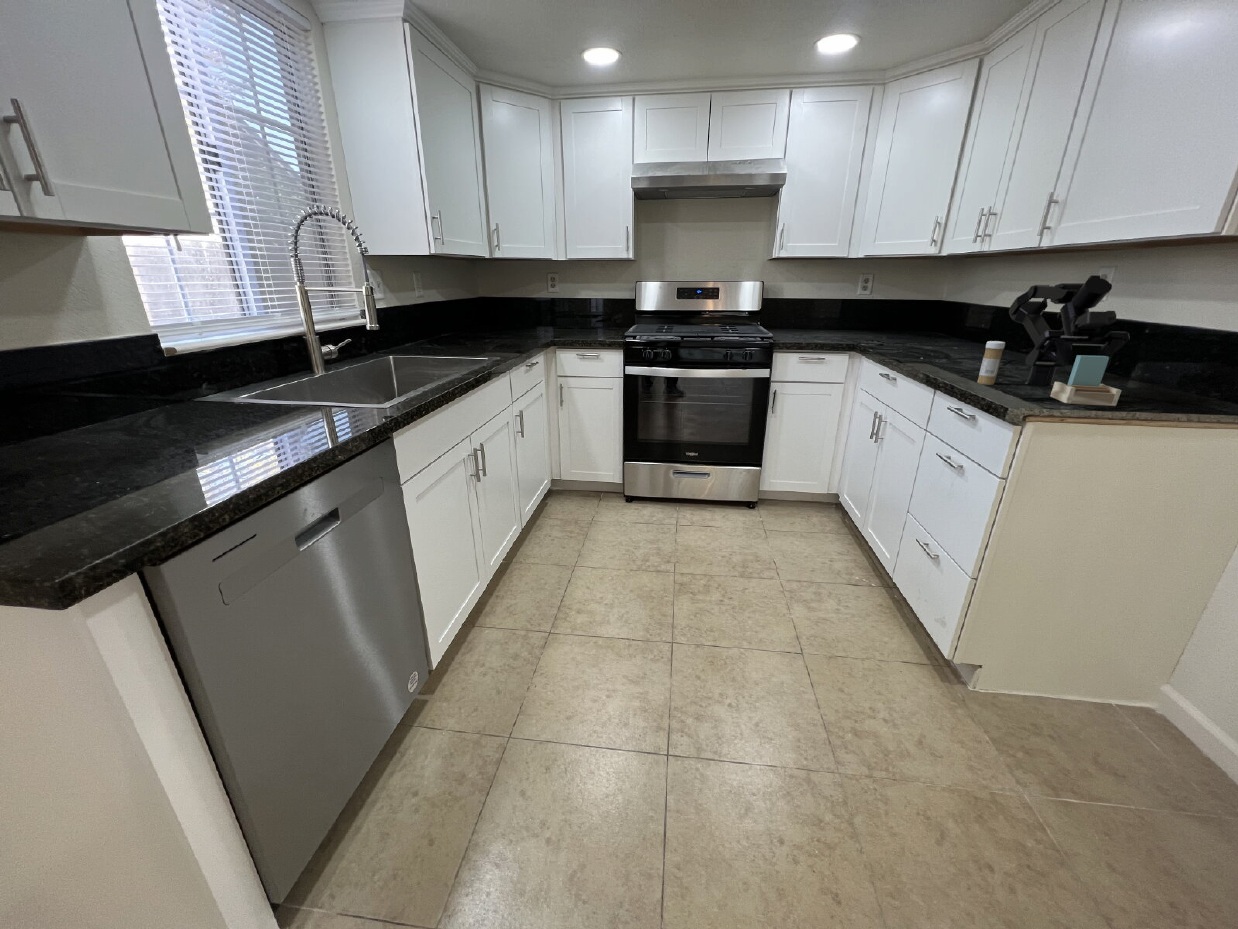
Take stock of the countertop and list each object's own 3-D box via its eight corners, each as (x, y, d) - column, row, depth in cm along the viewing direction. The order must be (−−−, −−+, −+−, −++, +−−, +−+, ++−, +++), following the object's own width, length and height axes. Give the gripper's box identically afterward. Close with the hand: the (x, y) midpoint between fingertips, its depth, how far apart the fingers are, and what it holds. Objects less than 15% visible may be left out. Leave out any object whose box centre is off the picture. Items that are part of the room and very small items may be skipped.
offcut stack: (1064, 399, 132) (1069, 384, 131) (1098, 401, 130) (1103, 386, 128) (1070, 402, 129) (1075, 387, 128) (1105, 404, 127) (1110, 388, 126)
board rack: (1049, 398, 136) (1054, 381, 134) (1095, 401, 133) (1102, 383, 132) (1065, 405, 129) (1071, 387, 127) (1114, 408, 126) (1121, 390, 124)
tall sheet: (1063, 397, 134) (1077, 355, 130) (1089, 399, 132) (1104, 356, 128) (1067, 399, 132) (1081, 356, 128) (1094, 400, 130) (1109, 357, 126)
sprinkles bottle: (995, 385, 153) (1007, 341, 148) (991, 387, 150) (1004, 342, 145) (977, 383, 156) (989, 340, 151) (974, 385, 153) (985, 341, 148)
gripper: (1053, 299, 132) (1061, 346, 126) (1139, 299, 127) (1152, 348, 121) (1030, 326, 142) (1037, 371, 136) (1109, 328, 137) (1120, 375, 131)
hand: (1085, 366), depth 131 cm, fingers open, 9 cm apart
